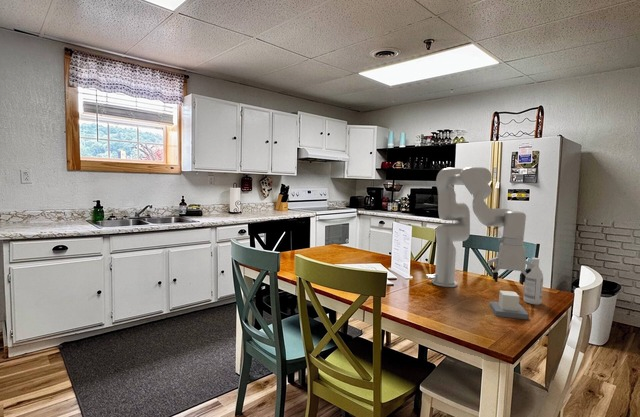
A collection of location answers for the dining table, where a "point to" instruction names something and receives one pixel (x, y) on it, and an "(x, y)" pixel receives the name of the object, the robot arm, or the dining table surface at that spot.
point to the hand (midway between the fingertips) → (508, 282)
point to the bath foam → (533, 284)
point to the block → (509, 300)
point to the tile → (508, 311)
